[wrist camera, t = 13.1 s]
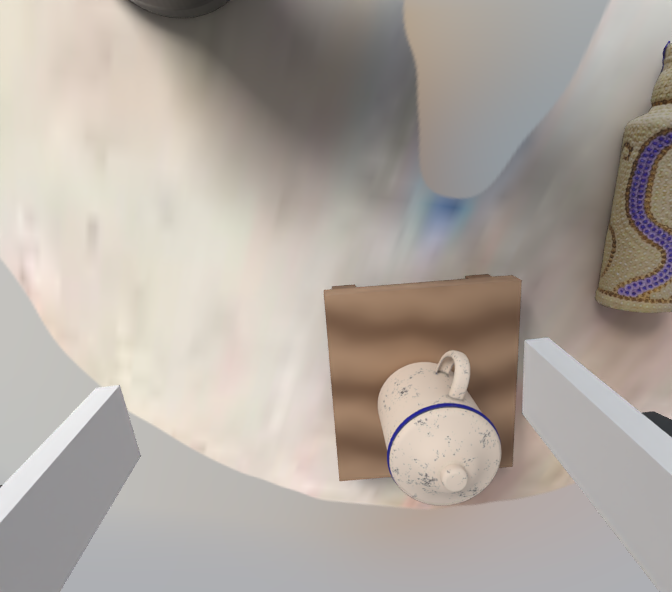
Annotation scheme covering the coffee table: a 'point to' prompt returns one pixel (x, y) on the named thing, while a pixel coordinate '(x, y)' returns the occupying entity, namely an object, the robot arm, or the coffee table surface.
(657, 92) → the decorative bottle
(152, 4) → the robot arm
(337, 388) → the walnut stand
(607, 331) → the coffee table surface
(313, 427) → the coffee table surface
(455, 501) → the teacup with lid
